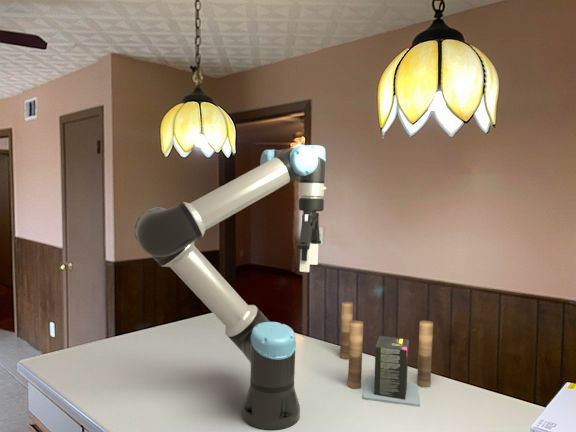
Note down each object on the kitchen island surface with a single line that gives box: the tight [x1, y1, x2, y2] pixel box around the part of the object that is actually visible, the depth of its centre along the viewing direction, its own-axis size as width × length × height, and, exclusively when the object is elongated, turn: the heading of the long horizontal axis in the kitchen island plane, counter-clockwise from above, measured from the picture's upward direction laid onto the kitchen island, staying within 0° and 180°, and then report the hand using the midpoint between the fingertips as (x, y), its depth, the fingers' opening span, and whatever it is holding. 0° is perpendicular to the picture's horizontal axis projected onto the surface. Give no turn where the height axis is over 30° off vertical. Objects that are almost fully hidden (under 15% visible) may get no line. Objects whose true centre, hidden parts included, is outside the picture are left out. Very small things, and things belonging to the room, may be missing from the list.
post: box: [416, 319, 434, 388], centre depth 138 cm, size 4×4×20 cm
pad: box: [362, 377, 421, 407], centre depth 133 cm, size 14×16×1 cm
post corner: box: [347, 320, 364, 390], centre depth 136 cm, size 4×4×20 cm
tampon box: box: [374, 335, 409, 399], centre depth 133 cm, size 11×9×15 cm
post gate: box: [339, 301, 354, 361], centre depth 159 cm, size 4×4×20 cm
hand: (309, 267), depth 134 cm, fingers open, 13 cm apart
